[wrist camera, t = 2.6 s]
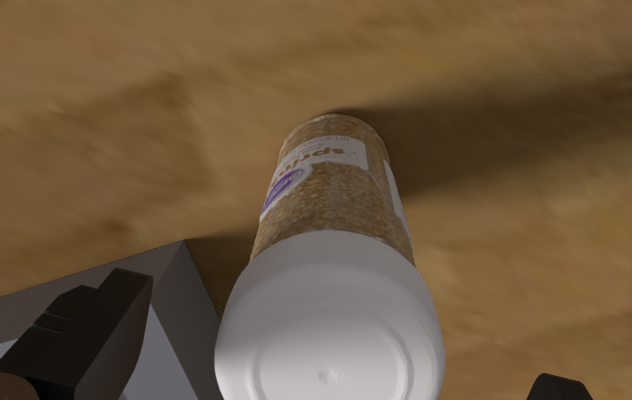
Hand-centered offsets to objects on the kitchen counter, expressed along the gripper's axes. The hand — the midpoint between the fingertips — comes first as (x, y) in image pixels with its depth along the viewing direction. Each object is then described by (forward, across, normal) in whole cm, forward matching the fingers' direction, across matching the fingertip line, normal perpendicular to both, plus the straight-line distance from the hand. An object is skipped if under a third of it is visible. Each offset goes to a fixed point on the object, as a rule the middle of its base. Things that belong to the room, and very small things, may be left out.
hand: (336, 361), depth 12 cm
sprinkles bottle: (+13, 0, 0) cm, 13 cm away
